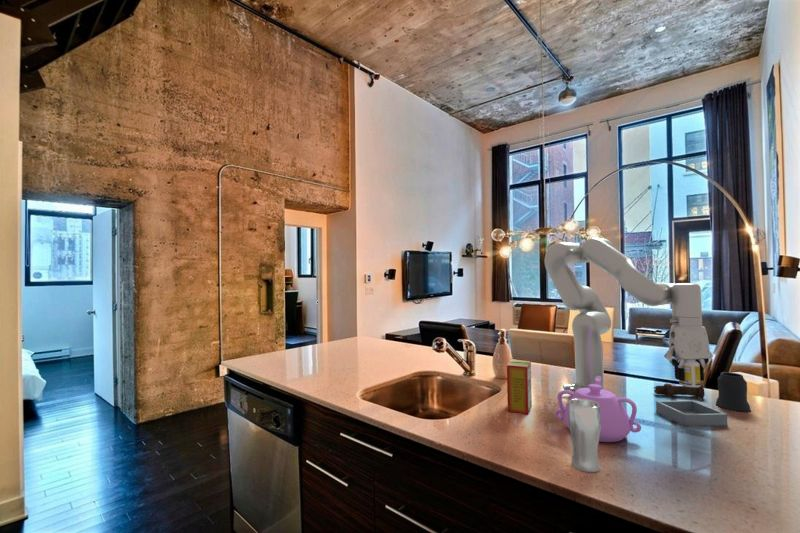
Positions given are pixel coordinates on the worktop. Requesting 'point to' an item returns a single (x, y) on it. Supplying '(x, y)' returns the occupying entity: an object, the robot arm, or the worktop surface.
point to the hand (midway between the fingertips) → (689, 379)
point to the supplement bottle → (691, 373)
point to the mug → (732, 392)
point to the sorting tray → (691, 413)
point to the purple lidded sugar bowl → (603, 411)
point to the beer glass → (585, 433)
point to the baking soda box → (519, 387)
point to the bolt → (679, 390)
